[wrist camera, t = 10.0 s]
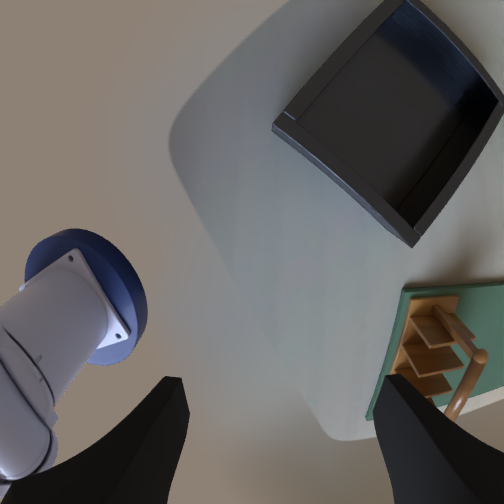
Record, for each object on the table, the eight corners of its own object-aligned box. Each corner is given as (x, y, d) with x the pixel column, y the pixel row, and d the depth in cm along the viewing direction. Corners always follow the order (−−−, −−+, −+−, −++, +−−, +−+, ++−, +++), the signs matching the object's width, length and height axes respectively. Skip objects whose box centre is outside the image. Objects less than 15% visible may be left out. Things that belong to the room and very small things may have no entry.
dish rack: (429, 373, 21) (462, 433, 14) (386, 380, 21) (413, 448, 14) (456, 294, 18) (511, 348, 11) (409, 297, 18) (460, 361, 11)
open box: (387, 230, 18) (412, 248, 14) (270, 130, 16) (271, 124, 13) (476, 106, 14) (509, 103, 11) (379, 8, 13) (400, -16, 9)
